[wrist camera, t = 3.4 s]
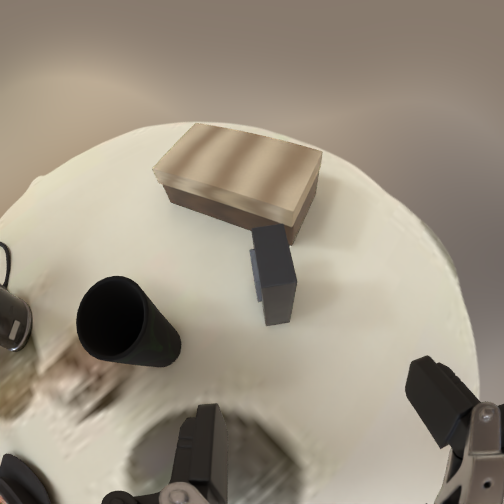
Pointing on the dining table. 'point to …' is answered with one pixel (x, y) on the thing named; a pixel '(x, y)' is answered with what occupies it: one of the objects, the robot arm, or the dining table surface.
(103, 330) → the cup
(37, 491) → the casserole
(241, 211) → the lidded shoe box
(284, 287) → the dark grey rectangular block
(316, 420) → the dining table surface
